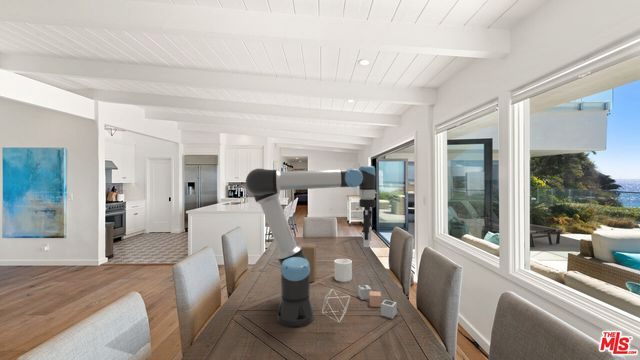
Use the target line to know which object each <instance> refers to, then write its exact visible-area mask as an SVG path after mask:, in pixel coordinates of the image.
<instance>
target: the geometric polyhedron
mask: <svg viewBox="0 0 640 360" xmlns="http://www.w3.org/2000/svg"><path fill="white" fill-rule="evenodd" d="M332 291H333V292H334V293H335V295H336V296H332V297H330V296H331V295H332ZM336 291H337V292H338V293H342V294H343V296H342V298H348V300H347V302H346V304H345V306H344V304H343V303H342V301H341V299H340V297H339V296H338V294H337V293H336ZM328 295H329V296H328ZM344 295H345V296H344ZM327 296H328V297H327ZM335 298H337V299H338V300H339V302H340V303H341V305H342V307H343V308H344V309H343V310H342V314H341V316H340V319H339V318H338V317H337V315H336V314H335V312H336V313H337V312H338V310H333V309H332V307H331V305H330V303H329V302H328V301H329V299H335ZM350 299H351V295H350V294H347V293H344V292H342V291H340V290H338V289H335V288H331V290H330V291H329V292H328V293H327V294H326V295H325V297H324V299H323V302H325V303H323V305H322V309H321V313H322V314H323V315H326V316H327V317H329V318H331V319H333V320H334V321H335V322H338V323H341V321H342V319H343V318H344V316H345V314H346V312H347V309H348V307H349V304H350ZM326 305H328V307H329V308H330V309H331V311H330V313H333V315H334V316H335V318H336V319H335V318H333V317H331V316H329V314H328V315H327V314H325V313H326V311H324V310H325V307H326Z"/></svg>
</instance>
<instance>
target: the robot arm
mask: <svg viewBox="0 0 640 360" xmlns="http://www.w3.org/2000/svg"><path fill="white" fill-rule="evenodd" d="M245 187H246V188H247V189H246V190H248V191H249V192H250V193H251V194H252V196H253V198H254V201H255V203H256V204H259V205H260V206H261V209H262V212H263V214H264V216H265V219H266V222H267V224H268V227H269V229H270V230H269V231H270V232H271V234H272V235H271V236H272V238H273V240H274V243H275V245H276V248H277V250H278V252H279V253H278V255H277V260H278V262H279V265H280V272H281V273H280V275H281V280H280V281H281V282H280V283H281V292H280V293H281V294H280V295H281V297H280V298H281V299H280V302H279V305H278V309H277V312H276V319H277V323H279V324H280V325H282V326H285V327H291V328H296V327H304V326H306V325H309V324H310V323H311V322H312V321H313V320H314V318H315V317H314V316H315V311H314V309H313V305H312V303H311V299H310V295H311V294H310V289H311V288H310V284H311V282H310V266H309V262H308V261H307V259H306V257H305V256H304V253H303V251H302V248H301V247H300V246H298V245H297V242H296V240H295V238H294V235H293V232H292V230H291V227H290V224H289V221H288V219H287V216H286V214H285V211H284V209H283V206H282V204H281V201H280V199H279V196H280V194H281V191H291V190H295V191H296V190H309V189H310V190H311V189H315V190H316V189H330V188H357V187H358V188H359V189H358V197H359V200H358V201H359V204H358V205H359V207H360V208H364V210H363V211H362V215H363V217H362V219H363V225H362V228H363V229H362V230H361V233H363V240H362V241H363V243H362V245H363V248H370V243H371V241H372V228H373V223H372V217H373V216H372V214H373V210H372V208H375V207H376V199H375V198H376V194H378V192H377V191H376V168H375V166H373V165H365V166H364V165H362V166H361V165H360V166H359V168H358V169H357V168H349V169H347V168H346V169H325V170H324V169H323V170H297V171H295V170H294V171H293V170H292V171H280V170H278V169H264V168H255V169H253V170H251V171H249V173H248V174H247V176H246V178H245Z"/></svg>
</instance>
